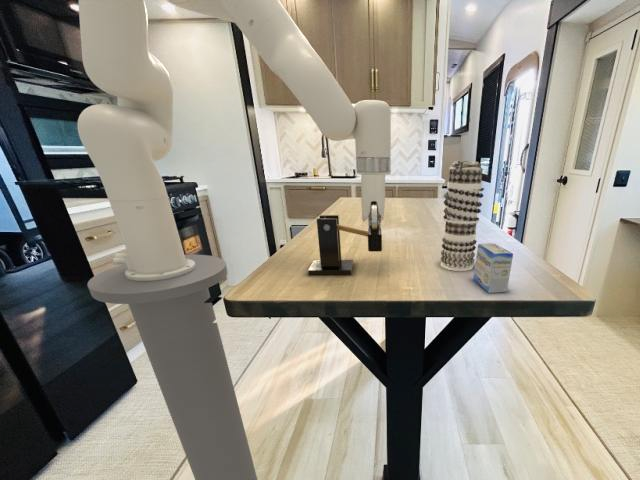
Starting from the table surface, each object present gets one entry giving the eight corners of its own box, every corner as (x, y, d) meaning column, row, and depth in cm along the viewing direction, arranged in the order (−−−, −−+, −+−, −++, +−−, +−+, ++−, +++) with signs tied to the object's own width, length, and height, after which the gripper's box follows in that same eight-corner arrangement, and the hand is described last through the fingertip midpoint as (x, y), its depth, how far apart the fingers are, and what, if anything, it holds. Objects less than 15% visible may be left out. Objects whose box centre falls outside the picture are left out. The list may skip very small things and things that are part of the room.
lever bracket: (353, 264, 83) (350, 214, 78) (351, 274, 76) (348, 220, 71) (314, 264, 82) (309, 213, 77) (308, 275, 75) (302, 220, 70)
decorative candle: (481, 270, 80) (495, 162, 70) (447, 272, 78) (456, 161, 68) (465, 259, 88) (476, 161, 78) (434, 261, 86) (440, 160, 76)
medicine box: (472, 280, 74) (477, 243, 70) (490, 278, 75) (495, 242, 71) (488, 293, 67) (493, 253, 63) (507, 292, 68) (514, 252, 64)
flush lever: (375, 238, 79) (378, 229, 78) (376, 243, 75) (378, 233, 74) (323, 226, 77) (324, 216, 76) (320, 230, 73) (321, 220, 72)
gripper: (358, 165, 77) (360, 239, 85) (353, 168, 62) (357, 258, 70) (389, 165, 78) (389, 238, 86) (392, 169, 63) (392, 258, 70)
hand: (375, 246), depth 78 cm, fingers closed on flush lever, 5 cm apart
